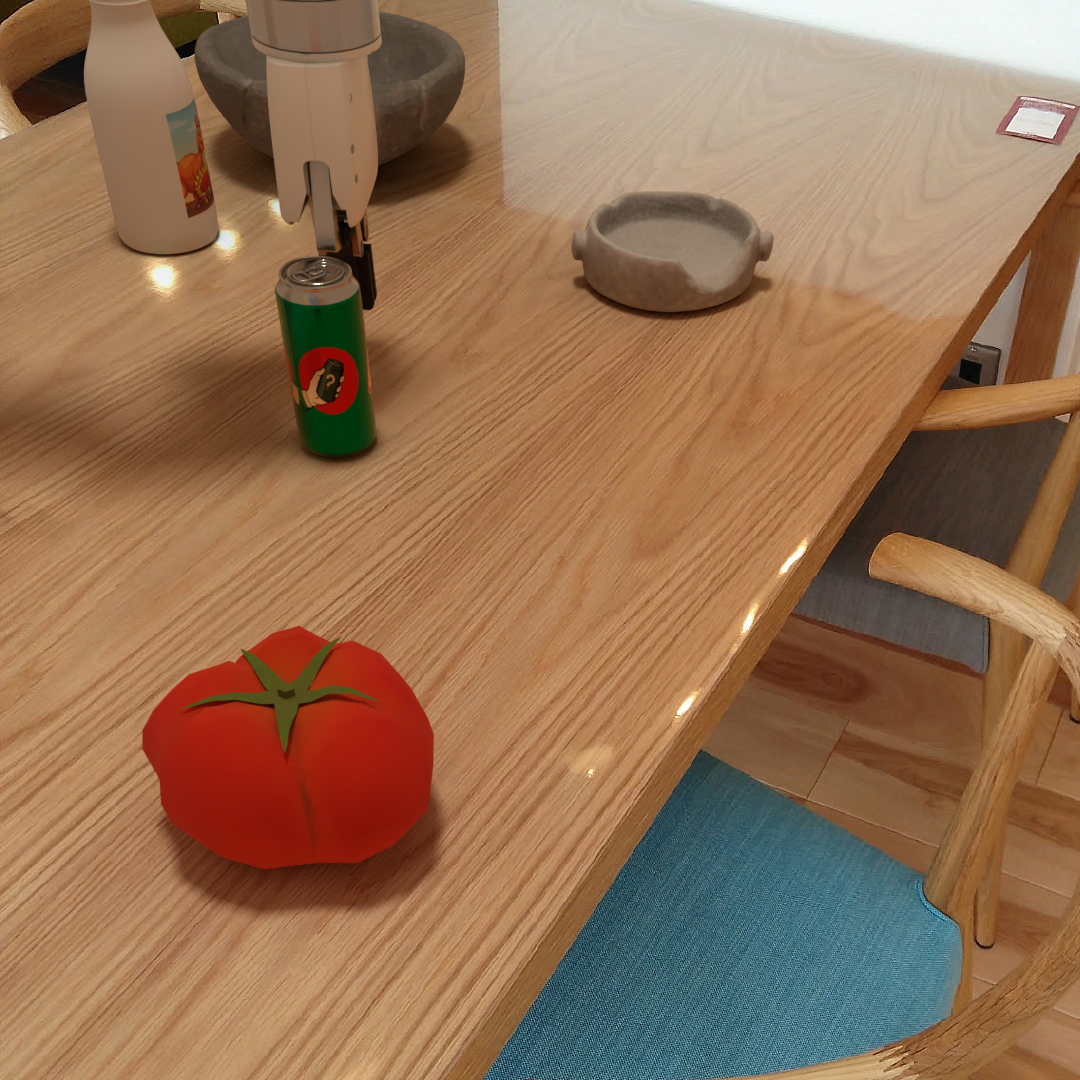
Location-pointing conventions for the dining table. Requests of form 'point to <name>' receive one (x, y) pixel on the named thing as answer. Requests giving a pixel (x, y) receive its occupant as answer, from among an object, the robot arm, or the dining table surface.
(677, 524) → the dining table surface
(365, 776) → the tomato
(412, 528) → the dining table surface
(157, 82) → the milk bottle
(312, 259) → the soda can
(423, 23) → the bowl
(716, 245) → the dish
